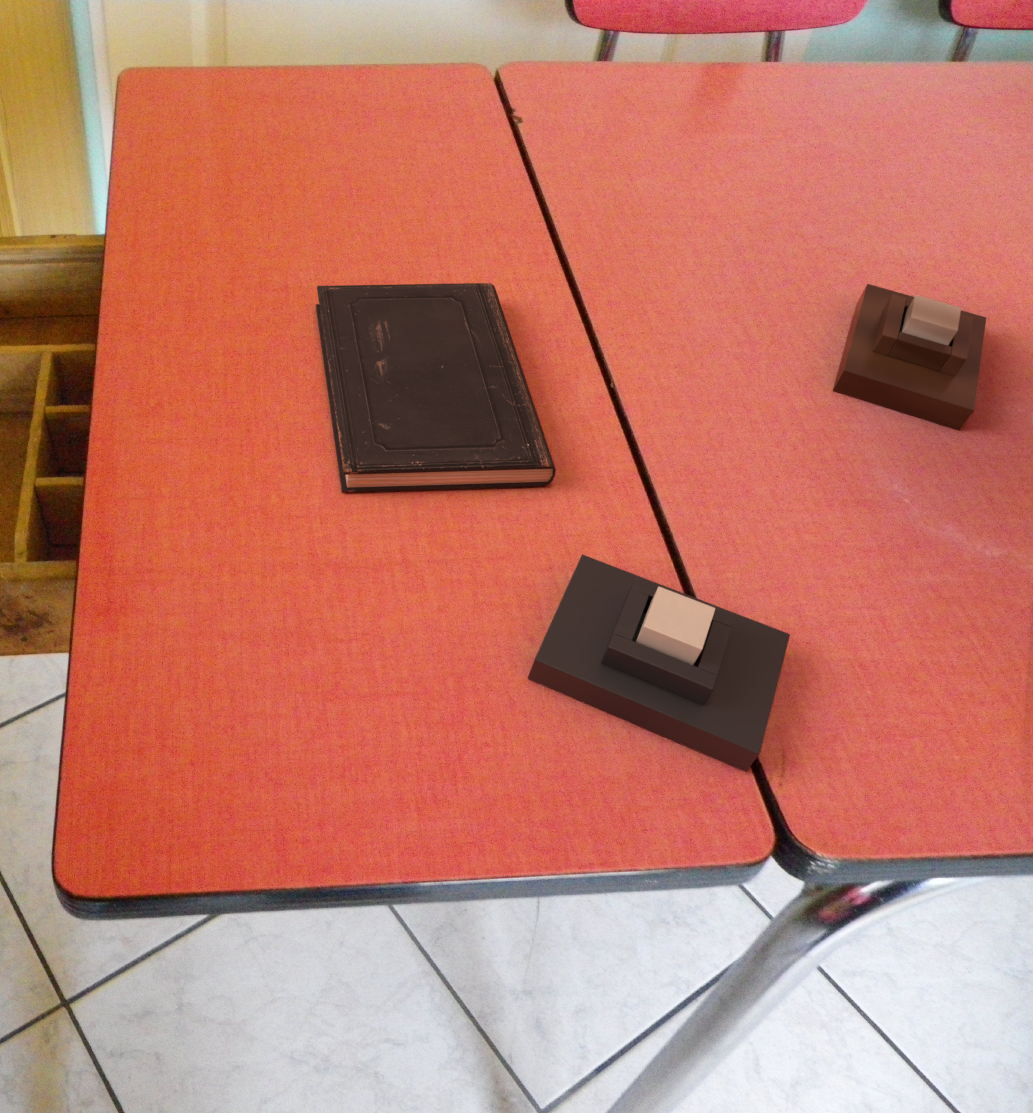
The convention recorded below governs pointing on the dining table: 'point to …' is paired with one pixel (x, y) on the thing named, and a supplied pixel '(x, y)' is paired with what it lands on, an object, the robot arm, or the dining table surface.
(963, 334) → the far block
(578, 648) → the near block
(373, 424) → the hardcover book
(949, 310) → the far key
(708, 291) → the dining table surface
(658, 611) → the near key
